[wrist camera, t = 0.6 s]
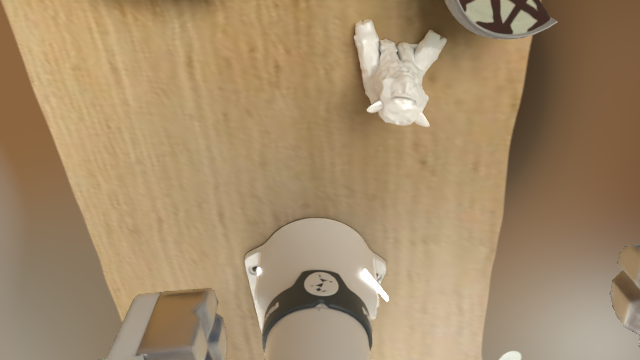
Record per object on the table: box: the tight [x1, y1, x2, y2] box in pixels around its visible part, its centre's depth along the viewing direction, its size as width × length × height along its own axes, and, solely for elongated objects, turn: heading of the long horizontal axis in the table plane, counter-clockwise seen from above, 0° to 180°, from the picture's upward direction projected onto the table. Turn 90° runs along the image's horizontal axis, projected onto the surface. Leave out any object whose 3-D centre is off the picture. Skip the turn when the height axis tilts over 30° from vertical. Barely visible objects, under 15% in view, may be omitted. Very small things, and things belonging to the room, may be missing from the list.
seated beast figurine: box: [354, 19, 447, 127], centre depth 45 cm, size 10×9×12 cm
